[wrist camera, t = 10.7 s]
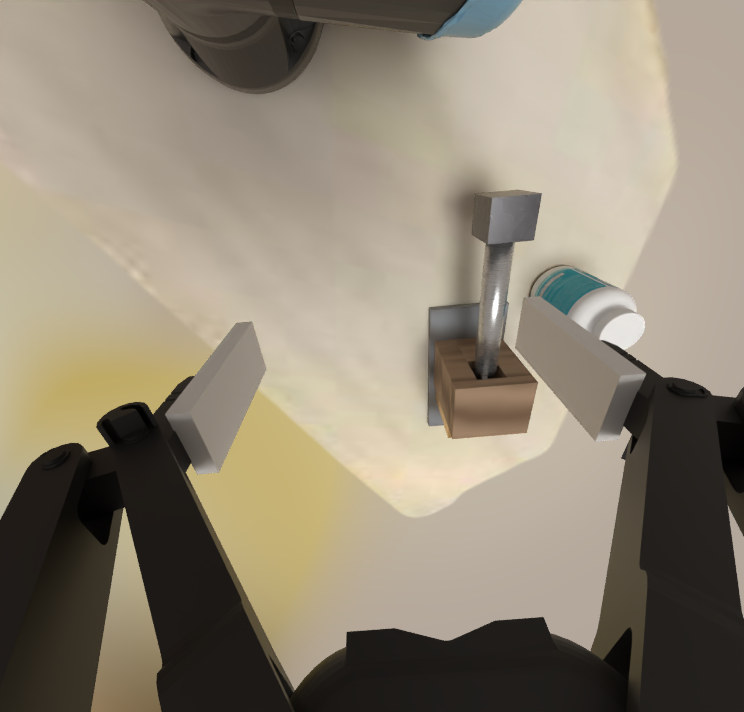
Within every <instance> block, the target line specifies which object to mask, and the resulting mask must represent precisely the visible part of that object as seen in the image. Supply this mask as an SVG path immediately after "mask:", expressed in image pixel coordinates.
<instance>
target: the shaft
mask: <svg viewBox="0 0 744 712" xmlns="http://www.w3.org/2000/svg"><path fill="white" fill-rule="evenodd" d="M541 195H542V193H536V192H529V191H523V190H510V191H499V192H489V193H478V194H475V198H474V212H473V225H472V235H473V236H475V237H476V238H478V239H479V240H481V241H483V242H484V243H486V245H485V255H484V265H483V276H482V286H481V296H480V306H479V317H478V327H477V337H476V347H475V358H474V368H473V373H474V375H475V377H476V379H477V380H482V379H494V378H496V371H497V364H498V357H499V350H500V343H501V336H502V329H503V322H504V315H505V308H506V301H507V294H508V287H509V280H510V273H511V266H512V259H513V252H514V245H515V242H520V241H531V240H534V236H535V230H536V224H537V218H538V213H539V207H540V201H541Z"/></svg>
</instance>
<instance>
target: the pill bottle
mask: <svg viewBox="0 0 744 712" xmlns="http://www.w3.org/2000/svg"><path fill="white" fill-rule="evenodd" d="M537 296H540V297H542V298H543V299H544V300H546V301H547V302H548V303H550V304H551V305H553V306H554V307H555V308H557V309H558V310H559V311H561V312H562V313H564V314H565V315H566V316H568V317H569V318H570V319H572V320H573V321H575V322H576V323H577V324H579V325H580V326H582V327H583V328H584V329H586V330H587V331H588V332H590V333H591V334H593V335H594V336H595V337H597V338H598V339H599V340H605V341H607V342H610V343H612V344H615V345H617V346H619V347H620V348H622V349H623V350H624V349H627V348H629V347H630V346H632V345H633V344H634V343H636V342H637V341H638V339H639V338H640V337H641V335H642V334H643V332H644V329H645V321H644V319H643V317H642V316H641V315H639V314H638V313H636V312H637V307H636V303H635V301H634V299H633V298H632V296H631V295H630V294H629V293H627V292H626V291H624V290H622V289H620V288H618V287H615V286H613V285H611V284H609V283H607V282H605V281H603V280H600V279H598V278H596V277H594V276H592V275H590V274H588V273H586V272H583V271H581V270H579V269H577V268H574V267H571V266H559V267H555V268H553V269H550V270H549V271H547V272H545V273H544V274H543V275H542V276H541V277H540V278H539V279H538V280H537V281H536V283H535V284H534V286H533V288H532V291H531V295H530V297H537Z"/></svg>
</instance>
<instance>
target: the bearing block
mask: <svg viewBox="0 0 744 712" xmlns="http://www.w3.org/2000/svg"><path fill="white" fill-rule="evenodd" d="M508 305H509V303H508V302H507V301H506V308H505V315H504V322H503V329H502V336H501V343H500V350H499V357H498V364H497V371H496V378H494V379H482V380H477V379H476V377H475V375H474V373H473V368H474V358H475V347H476V337H477V327H478V317H479V306H480V303H476V304H465V305H454V306H442V307H431V308H429V370H428V425H429V426H439V425H444V423H443V420H442V417H441V414H440V411H439V408H438V405H437V402H436V399H435V391H436V392H437V395H438V398H439V401H440V404H441V407H442V410H443V413H444V416H445V419H446V422H447V425H448V428H449V431H450V434H451V437H452V439H458V438H470V437H482V436H494V435H507V434H519V433H527V429H528V424H529V420H530V415H531V411H532V407H533V402H534V398H535V393H536V389H537V385H538V382H537V381H536V379H535V378H534V377H533V376H532V375H531V373H530V372H529V371H528V370H527V369H526V367H525V366H524V365H523V364H522V362H521V361H520V360H519V359H518V358H517V356H516V355H515V354H514V353H513V352H512V350H511V349H510V348H509V347H508V345H507V344H506V343H505V342H504V341H503V339H504V332H505V325H506V318H507V312H508Z"/></svg>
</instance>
